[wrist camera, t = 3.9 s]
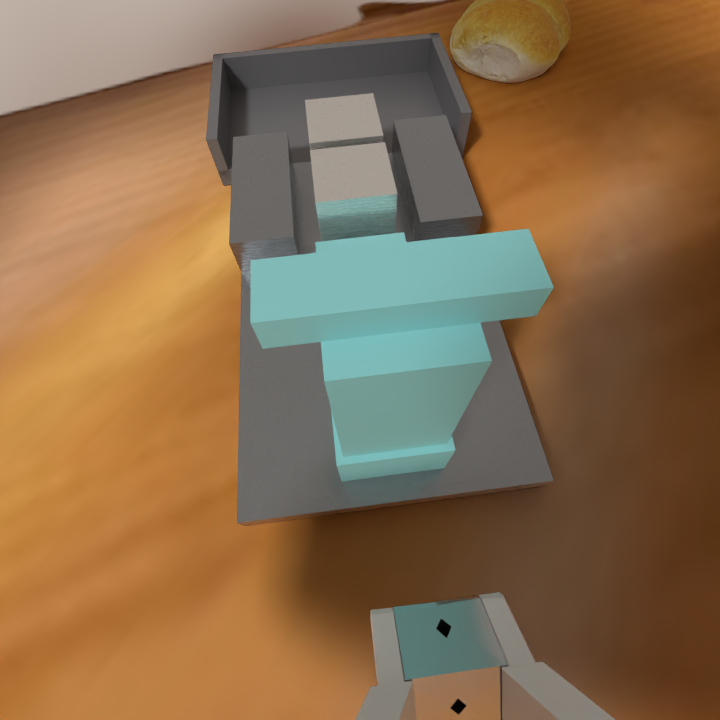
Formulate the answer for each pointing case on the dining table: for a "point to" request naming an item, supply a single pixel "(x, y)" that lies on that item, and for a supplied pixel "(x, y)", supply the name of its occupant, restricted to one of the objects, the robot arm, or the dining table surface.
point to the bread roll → (510, 38)
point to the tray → (330, 90)
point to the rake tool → (398, 333)
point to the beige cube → (354, 191)
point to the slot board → (304, 361)
